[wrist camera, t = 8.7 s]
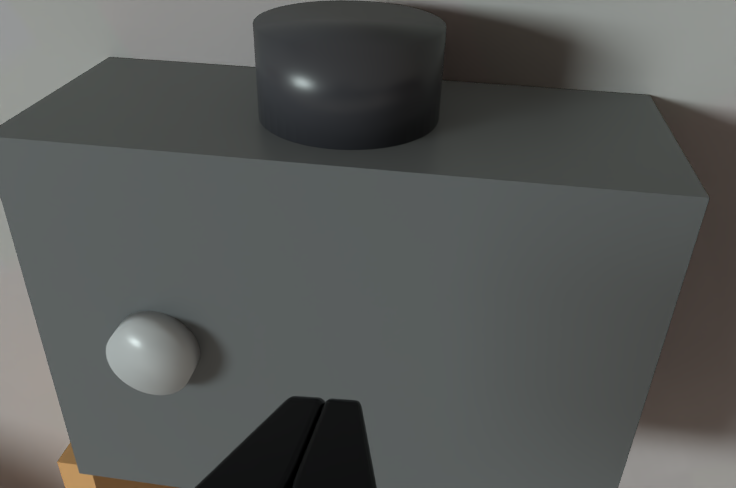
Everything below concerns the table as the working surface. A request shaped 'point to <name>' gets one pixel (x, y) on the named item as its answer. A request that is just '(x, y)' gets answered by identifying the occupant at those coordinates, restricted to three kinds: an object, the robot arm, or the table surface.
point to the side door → (83, 484)
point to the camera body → (349, 255)
